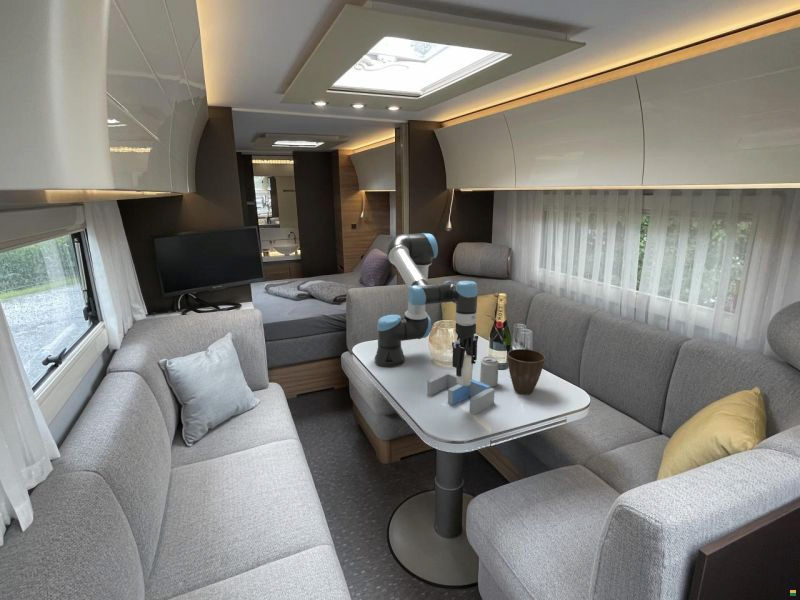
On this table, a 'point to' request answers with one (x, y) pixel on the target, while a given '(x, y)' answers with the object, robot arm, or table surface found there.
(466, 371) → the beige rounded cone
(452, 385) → the folding screen
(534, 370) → the plant pot
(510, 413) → the table surface
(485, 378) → the can
